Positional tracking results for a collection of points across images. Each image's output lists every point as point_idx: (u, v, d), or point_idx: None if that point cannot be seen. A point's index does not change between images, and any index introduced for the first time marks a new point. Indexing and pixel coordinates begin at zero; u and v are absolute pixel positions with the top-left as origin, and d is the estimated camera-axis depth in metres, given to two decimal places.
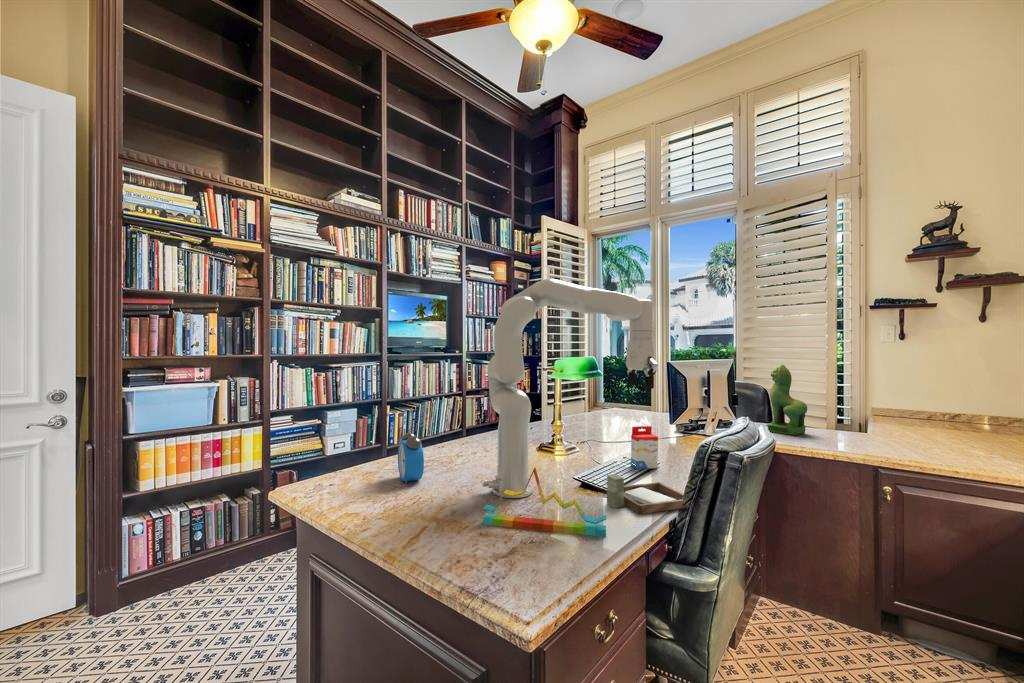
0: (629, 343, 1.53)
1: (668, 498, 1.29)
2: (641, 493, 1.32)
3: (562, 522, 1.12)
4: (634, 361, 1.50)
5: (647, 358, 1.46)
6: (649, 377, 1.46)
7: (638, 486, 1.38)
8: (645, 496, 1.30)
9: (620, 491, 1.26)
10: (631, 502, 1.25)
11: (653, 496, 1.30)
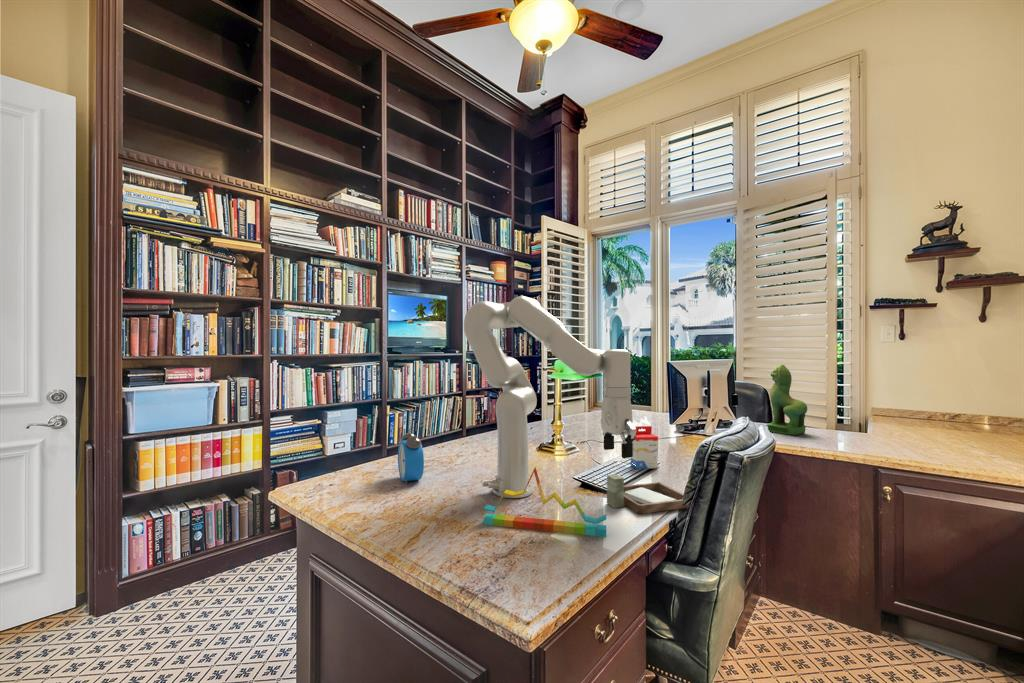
0: (604, 400, 1.29)
1: (668, 498, 1.29)
2: (641, 493, 1.32)
3: (562, 522, 1.12)
4: (609, 423, 1.26)
5: (624, 421, 1.22)
6: (627, 444, 1.22)
7: (638, 486, 1.38)
8: (645, 496, 1.30)
9: (620, 491, 1.26)
10: (631, 502, 1.25)
11: (653, 496, 1.30)
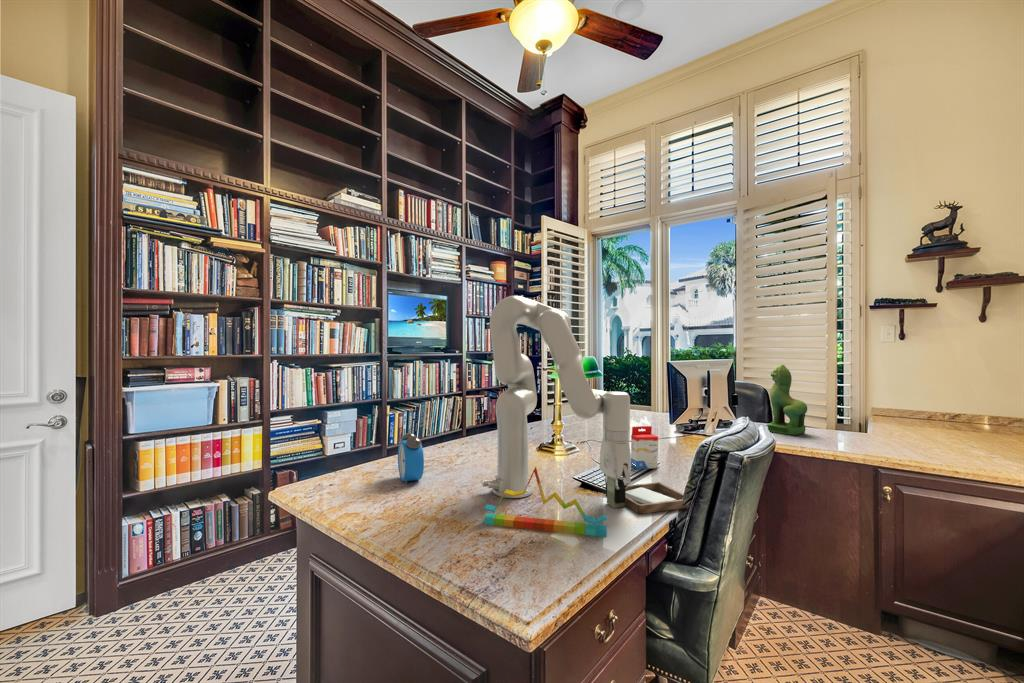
0: (602, 442, 1.29)
1: (668, 498, 1.29)
2: (641, 493, 1.32)
3: (562, 522, 1.12)
4: (608, 466, 1.26)
5: (622, 466, 1.22)
6: (620, 490, 1.24)
7: (638, 486, 1.38)
8: (645, 496, 1.30)
9: None
10: (631, 502, 1.25)
11: (653, 496, 1.30)
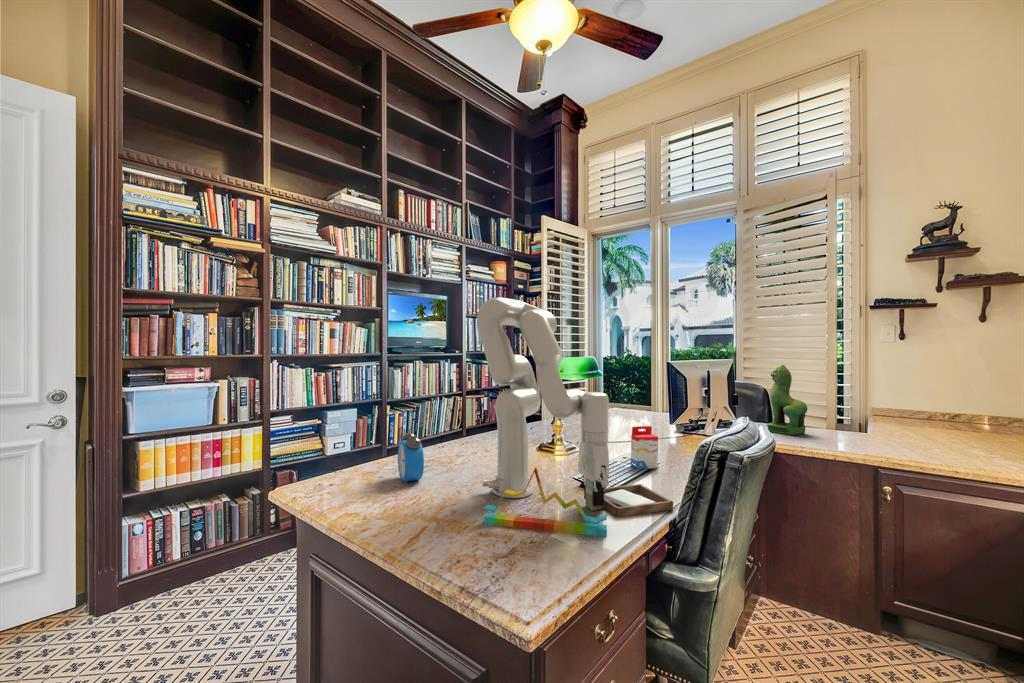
0: (581, 443, 1.27)
1: (647, 500, 1.27)
2: (621, 496, 1.30)
3: (562, 522, 1.12)
4: (586, 468, 1.24)
5: (600, 468, 1.20)
6: (598, 493, 1.22)
7: (618, 488, 1.36)
8: (624, 498, 1.28)
9: None
10: (609, 505, 1.22)
11: (633, 499, 1.28)
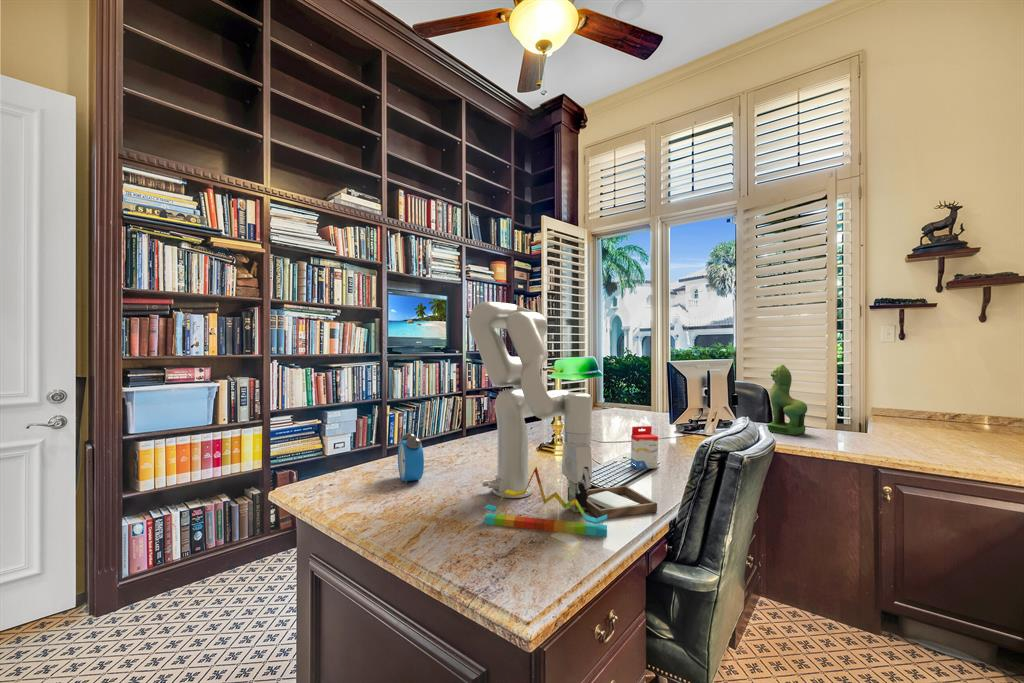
0: (564, 445, 1.26)
1: (631, 502, 1.25)
2: (605, 497, 1.28)
3: (563, 522, 1.12)
4: (569, 469, 1.22)
5: (583, 469, 1.19)
6: (580, 494, 1.21)
7: (603, 490, 1.34)
8: (608, 500, 1.27)
9: None
10: (592, 507, 1.21)
11: (617, 501, 1.26)
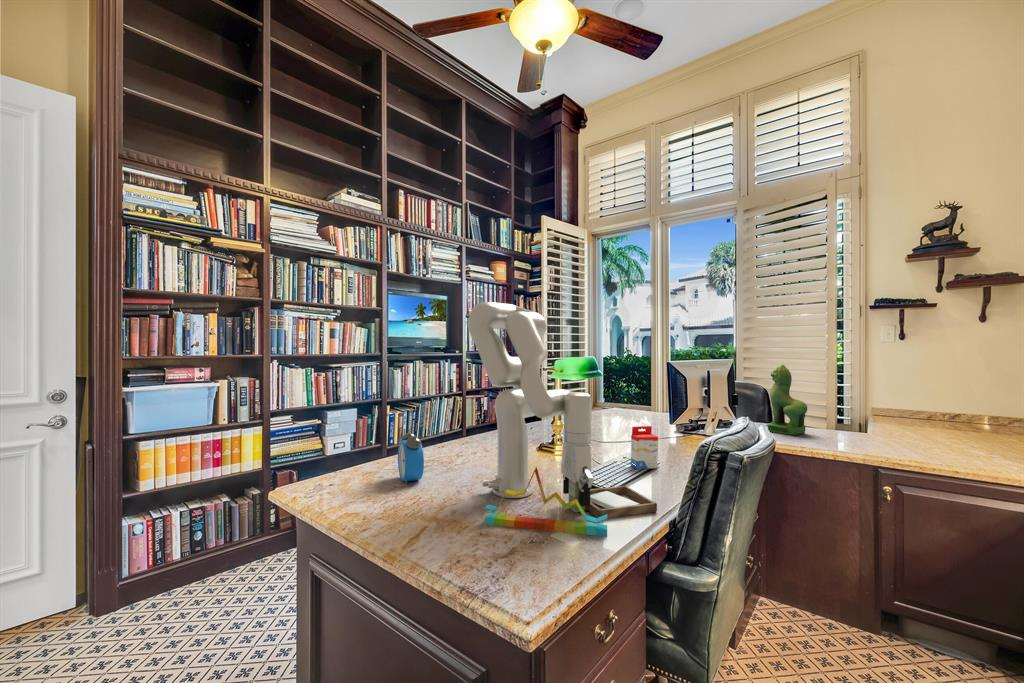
0: (564, 444, 1.26)
1: (631, 502, 1.25)
2: (605, 497, 1.28)
3: (563, 521, 1.12)
4: (568, 469, 1.23)
5: (582, 469, 1.19)
6: (584, 493, 1.18)
7: (603, 490, 1.34)
8: (608, 500, 1.27)
9: None
10: (592, 507, 1.21)
11: (617, 501, 1.26)
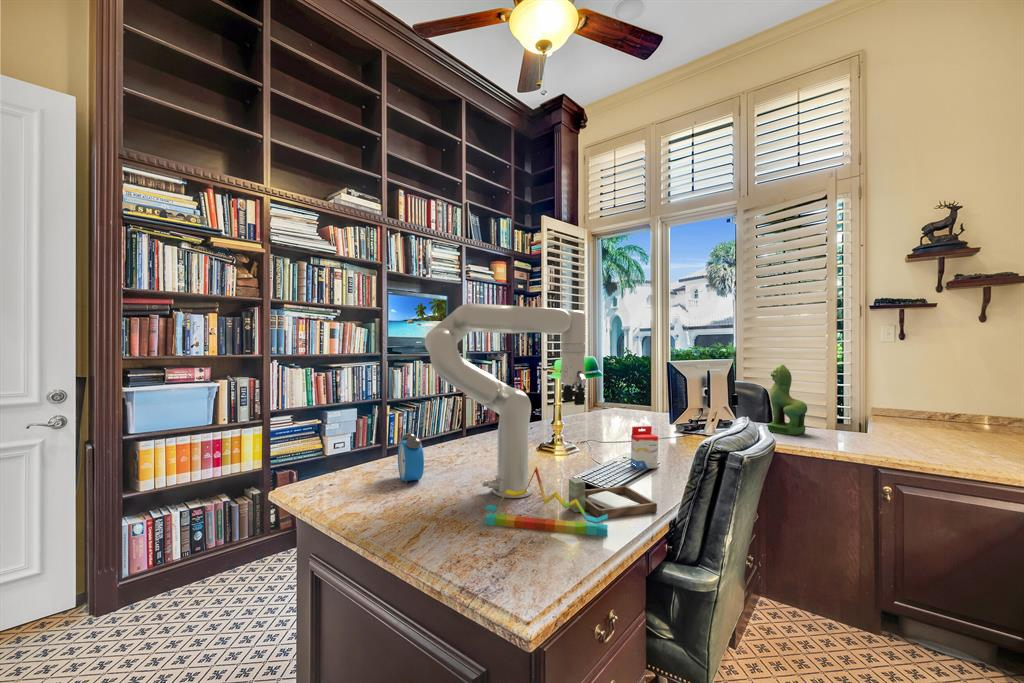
0: (562, 356, 1.46)
1: (631, 502, 1.25)
2: (605, 497, 1.28)
3: (563, 521, 1.12)
4: (566, 376, 1.43)
5: (577, 373, 1.39)
6: (579, 393, 1.39)
7: (603, 490, 1.34)
8: (608, 500, 1.27)
9: (581, 495, 1.22)
10: (592, 507, 1.21)
11: (617, 501, 1.26)
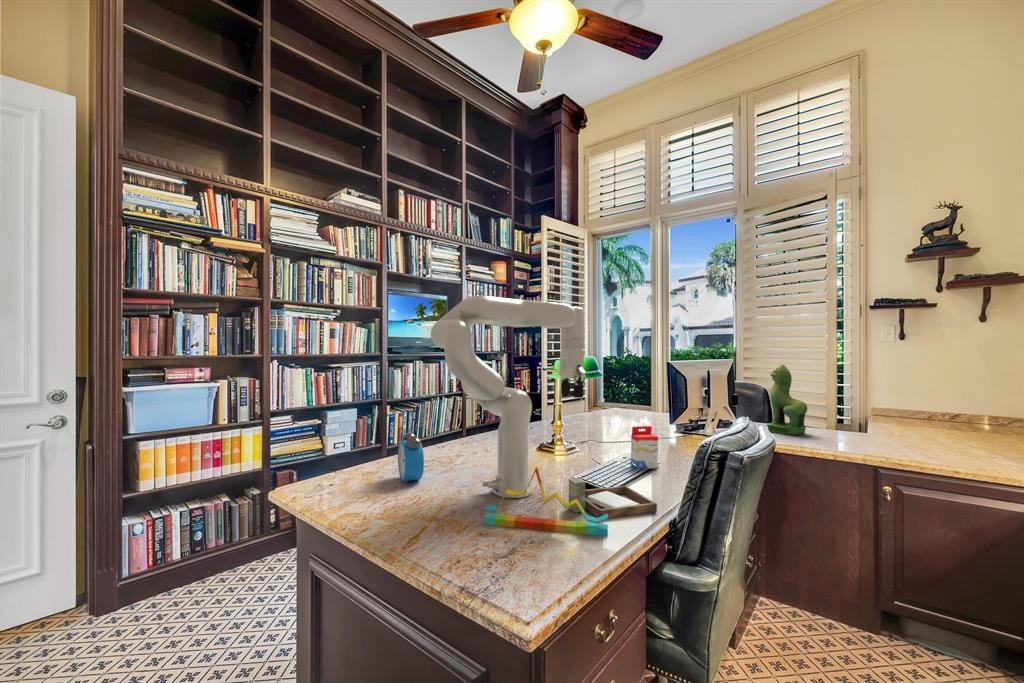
0: (561, 351, 1.51)
1: (631, 502, 1.25)
2: (605, 497, 1.28)
3: (563, 521, 1.12)
4: (565, 369, 1.48)
5: (576, 367, 1.44)
6: (578, 386, 1.44)
7: (603, 490, 1.34)
8: (608, 500, 1.27)
9: (581, 495, 1.22)
10: (592, 507, 1.21)
11: (617, 501, 1.26)
